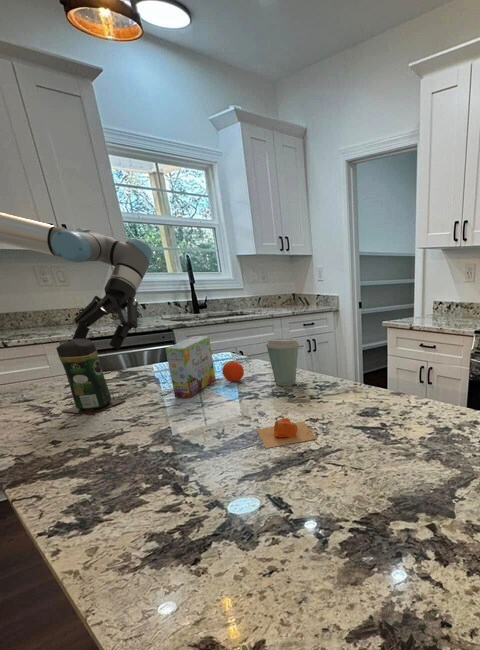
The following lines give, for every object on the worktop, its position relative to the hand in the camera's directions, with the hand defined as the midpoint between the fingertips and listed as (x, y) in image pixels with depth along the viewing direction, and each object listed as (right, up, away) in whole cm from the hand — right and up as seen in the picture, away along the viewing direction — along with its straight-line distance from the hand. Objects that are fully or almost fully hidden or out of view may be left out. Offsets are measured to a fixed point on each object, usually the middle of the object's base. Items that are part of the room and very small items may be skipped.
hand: (94, 346), depth 118 cm
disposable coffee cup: (+49, -7, +23) cm, 55 cm away
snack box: (+21, -9, +18) cm, 29 cm away
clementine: (+30, -6, +25) cm, 40 cm away
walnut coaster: (-1, -17, +2) cm, 17 cm away
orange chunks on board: (+58, -26, -17) cm, 66 cm away
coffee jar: (-1, -17, +2) cm, 17 cm away
